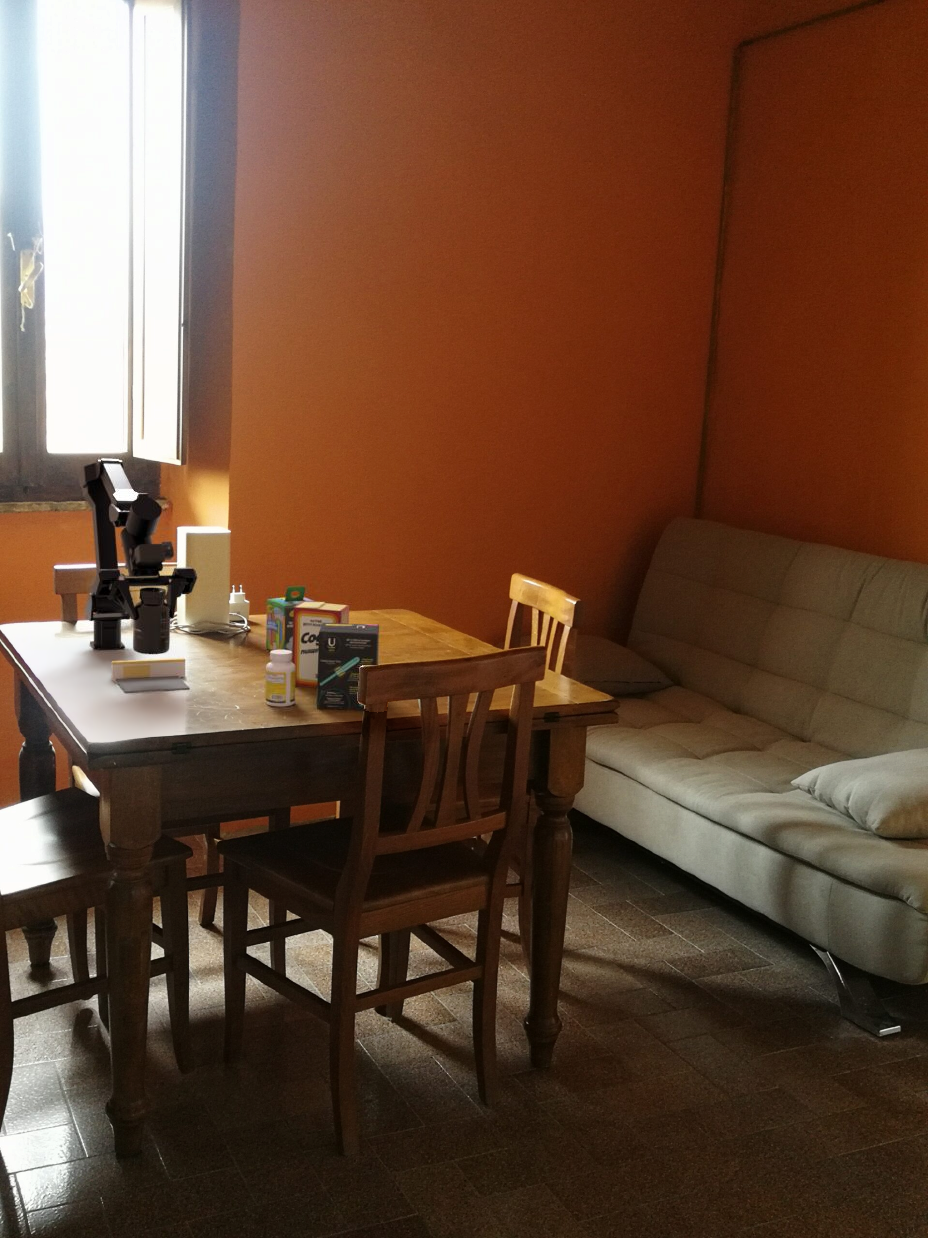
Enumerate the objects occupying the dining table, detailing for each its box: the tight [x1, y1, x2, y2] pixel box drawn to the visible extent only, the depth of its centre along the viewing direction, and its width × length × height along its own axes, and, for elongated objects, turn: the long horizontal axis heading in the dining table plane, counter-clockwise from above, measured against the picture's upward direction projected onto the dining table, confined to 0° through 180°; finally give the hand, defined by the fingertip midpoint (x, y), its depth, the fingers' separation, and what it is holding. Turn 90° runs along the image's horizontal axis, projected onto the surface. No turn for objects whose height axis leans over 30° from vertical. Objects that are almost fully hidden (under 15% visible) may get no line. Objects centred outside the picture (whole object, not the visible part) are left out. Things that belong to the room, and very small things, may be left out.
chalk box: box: [265, 585, 317, 651], centre depth 262 cm, size 9×9×15 cm
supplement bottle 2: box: [265, 650, 296, 708], centre depth 217 cm, size 5×5×10 cm
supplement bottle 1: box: [132, 587, 171, 655], centre depth 225 cm, size 7×7×12 cm
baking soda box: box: [291, 601, 350, 689], centre depth 233 cm, size 10×6×16 cm
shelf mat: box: [115, 676, 190, 694], centre depth 226 cm, size 10×12×1 cm
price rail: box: [111, 657, 186, 681], centre depth 232 cm, size 2×14×4 cm, turn 116°
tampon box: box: [316, 623, 380, 711], centre depth 219 cm, size 11×9×15 cm
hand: (154, 618), depth 224 cm, fingers closed on supplement bottle 1, 7 cm apart
